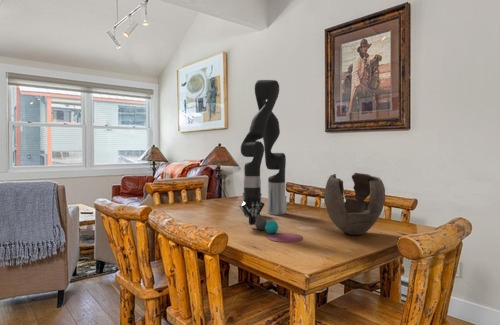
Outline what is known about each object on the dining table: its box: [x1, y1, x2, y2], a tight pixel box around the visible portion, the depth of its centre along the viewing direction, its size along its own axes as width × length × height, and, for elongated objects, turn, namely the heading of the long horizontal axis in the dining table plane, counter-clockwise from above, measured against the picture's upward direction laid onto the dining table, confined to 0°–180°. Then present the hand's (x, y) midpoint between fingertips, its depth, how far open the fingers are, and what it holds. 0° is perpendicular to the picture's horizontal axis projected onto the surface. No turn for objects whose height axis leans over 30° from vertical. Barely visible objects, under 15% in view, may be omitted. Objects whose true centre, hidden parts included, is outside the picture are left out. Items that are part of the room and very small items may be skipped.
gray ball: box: [254, 216, 268, 231], centre depth 147 cm, size 6×6×6 cm
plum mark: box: [267, 232, 303, 243], centre depth 135 cm, size 14×14×1 cm
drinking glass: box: [242, 192, 263, 218], centre depth 180 cm, size 10×10×12 cm
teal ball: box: [264, 220, 279, 235], centre depth 141 cm, size 6×6×6 cm
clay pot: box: [323, 172, 386, 236], centre depth 139 cm, size 24×24×25 cm
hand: (252, 224), depth 151 cm, fingers closed
